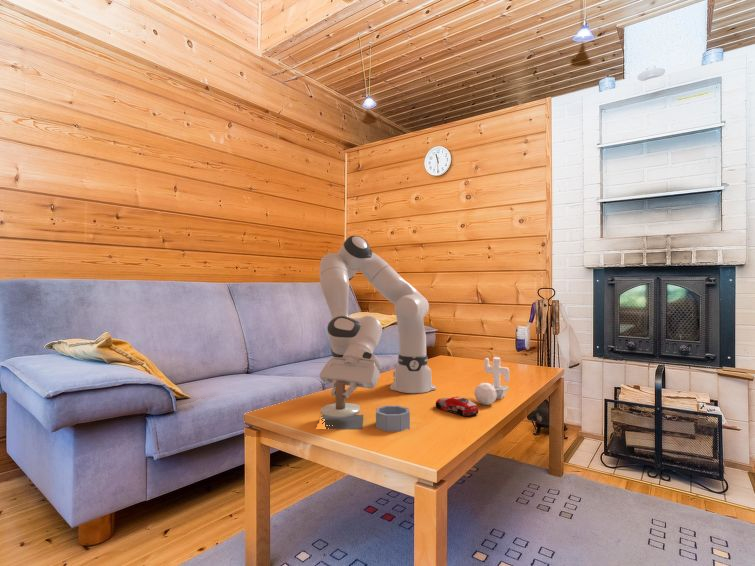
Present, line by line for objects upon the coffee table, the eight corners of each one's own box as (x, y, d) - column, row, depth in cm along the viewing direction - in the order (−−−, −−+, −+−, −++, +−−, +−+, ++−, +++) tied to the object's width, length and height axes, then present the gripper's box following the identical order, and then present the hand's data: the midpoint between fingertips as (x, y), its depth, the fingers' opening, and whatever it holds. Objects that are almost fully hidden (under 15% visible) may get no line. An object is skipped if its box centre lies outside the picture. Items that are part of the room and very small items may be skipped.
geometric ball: (483, 413, 152) (473, 397, 149) (478, 399, 159) (468, 384, 157) (502, 403, 150) (492, 387, 148) (497, 390, 158) (487, 374, 155)
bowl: (375, 421, 134) (375, 405, 134) (407, 421, 134) (407, 405, 134) (376, 432, 124) (376, 415, 124) (410, 432, 124) (410, 415, 124)
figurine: (506, 400, 158) (506, 360, 158) (481, 397, 163) (481, 357, 163) (511, 396, 164) (511, 357, 164) (487, 393, 169) (487, 355, 169)
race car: (431, 408, 150) (431, 394, 150) (445, 404, 154) (444, 391, 154) (467, 419, 137) (467, 403, 137) (481, 415, 141) (481, 400, 141)
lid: (323, 406, 138) (322, 378, 138) (360, 405, 138) (360, 377, 138) (318, 417, 126) (318, 387, 126) (359, 416, 126) (359, 386, 126)
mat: (320, 416, 140) (320, 415, 140) (363, 415, 140) (363, 414, 140) (314, 430, 126) (314, 429, 126) (362, 430, 126) (362, 429, 126)
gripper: (327, 351, 144) (308, 386, 135) (379, 355, 133) (362, 393, 125) (335, 362, 147) (317, 397, 139) (386, 367, 137) (370, 405, 128)
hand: (339, 395), depth 132 cm, fingers closed on lid, 3 cm apart
